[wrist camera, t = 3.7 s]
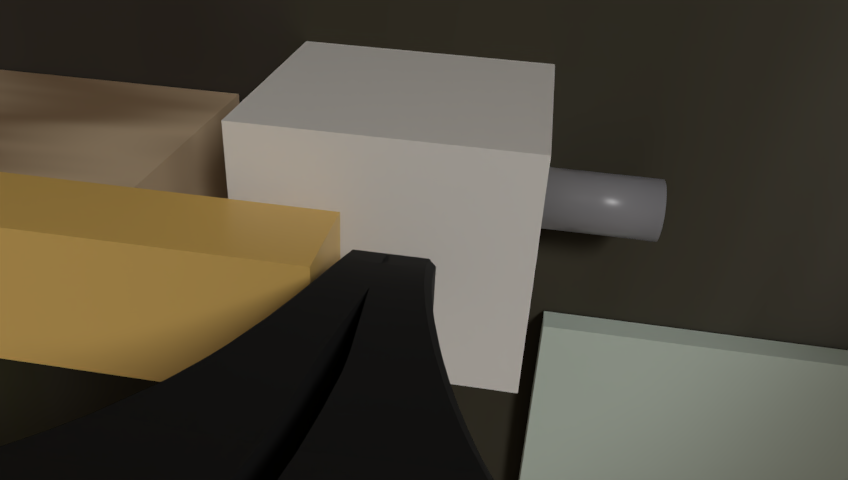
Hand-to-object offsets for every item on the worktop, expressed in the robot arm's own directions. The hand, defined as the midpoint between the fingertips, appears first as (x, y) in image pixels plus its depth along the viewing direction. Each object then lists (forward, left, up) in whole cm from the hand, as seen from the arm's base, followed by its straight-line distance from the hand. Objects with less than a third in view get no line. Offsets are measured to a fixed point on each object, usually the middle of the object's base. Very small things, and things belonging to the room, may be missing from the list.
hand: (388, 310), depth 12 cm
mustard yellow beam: (+5, 0, -1) cm, 5 cm away
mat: (-8, +7, -6) cm, 12 cm away
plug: (-1, 0, -6) cm, 6 cm away
